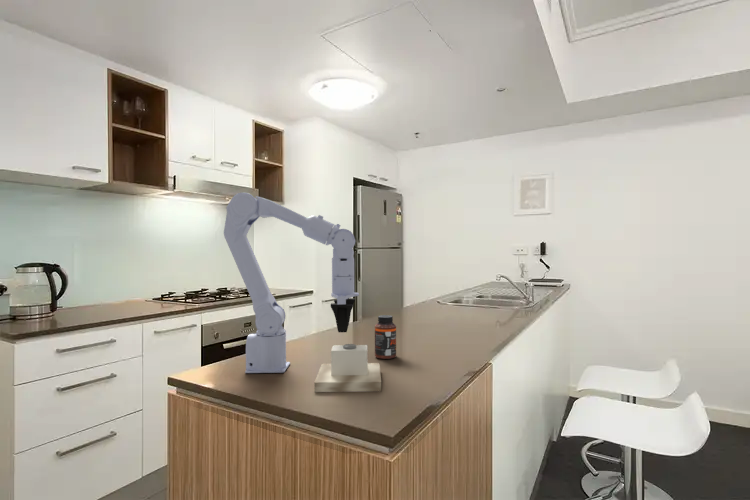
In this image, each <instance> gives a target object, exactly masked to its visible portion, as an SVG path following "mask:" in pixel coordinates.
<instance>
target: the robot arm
mask: <svg viewBox="0 0 750 500" xmlns="http://www.w3.org/2000/svg"><path fill="white" fill-rule="evenodd" d="M225 209H226V217H225V221H224V222H225V223H224V227H223V229H224V230H223V237H224V239H225V241H226V243H227V246H228V248H229V250H230V252H231V255H232V257H233V259H234V262H235V265H236V267H237V269H238V271H239V273H240V276H241V278H242V280H243V282H244V285H245V288H246V290H247V292H248V293H249V297H250V299H251V302H252V309H253V312H254V315H255V328H256V329H257V330H256V331H255V333H249V334H248V335H247V337H246V341H245V342H246V343H245V370H244V371H245V372H244V373H245V374H272V373H273V374H275V373H277V374H279V373H280V374H283V373H285V372H286V370H287V369H288V368H289V366H290V365H291V362H290V361H287V331H286V329H285V328H284V326H283V324H284V322H285V320H286V312H285V310H284V308H283V307H282V306H281V305H279V303H278V302H277V300H276V298H275V296H274V295H273V294H272V292H271V289H270V288H269V285H268V283H267V281H266V278H265V276H264V273H263V271H262V269H261V267H260V264H259V262H258V260H257V258H256V255H255V253H254V251H253V248H252V246H251V244H250V241H249V239H248V237H247V236H248V233H249V231H250V229H251V227H252V225H253V224H254V223H255V222H256V221H257V220H258V219H259V218H260V217H261V218H262V219H265V218H266V219H267V218H275V219H277V220H280V221H283V222H285V223H288V224H290V225H293V226H295V227H297V228H300V229H301V230H302V233H303V235H304V236H305V237H307V238H309V239H311V240H314V241H316V242H318V243H320V244H322V245H325V246H329V245H331V247H332V248H333V249H332V258H331V297H332V298H334V300H333V302H332V303H330V308H331V310H332V312H333V315H334V317H335V323H336V328H337V332H338V333H348V328H349V325H350V321H351V320H350V319H351V315H352V314H351V313H352V310H353V308H354V303H355V301H356V298H353V297H359V296H360V293H359V292H355V256H354V255H355V252H354V246H355V245H356V238H355V235H354V234H353V232H352V231H351V230H349V229H346V228H340V227H341V225H340V223H336V224H335V223H332V222H330V221H328V220H326V219H324V216H323V215H320V214H318V215H315V214H313V215H311V216H308V217H307V216H304V215H302V214H300V213H298V212H296V211H294V210H293V209H290V208H287V207H286V206H283V205H281V204H279V203H277V202H275V201H273V200H271V199H268V198H264V197H262V196H257V195H255V196H254V195H252V194H251V193H249V192H243V191H242V192H237V193H236V194H234V195H233V197H232V198H230V201H229V202H228V204H227V206H226V207H225Z"/></svg>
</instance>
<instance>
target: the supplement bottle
mask: <svg viewBox="0 0 750 500" xmlns="http://www.w3.org/2000/svg"><path fill="white" fill-rule="evenodd" d="M393 319H394V318H393V315H391V314H390V315H389V314H388V315H387V314H381V315H378V316H377V321H378V322H377V323H376V324H375V325H374V357H375V358H376V359H380V360H391V359H392V360H393V359H394V358H396V357H397V326H396V324H395V323H394V322H393V321H394V320H393Z"/></svg>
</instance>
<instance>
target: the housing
mask: <svg viewBox="0 0 750 500" xmlns="http://www.w3.org/2000/svg"><path fill="white" fill-rule="evenodd" d="M368 355H369V354H368V344H355V343H346V344H342V345H341V344H340V345H339V344H337V345H336V344H334V345H332V347H331V350H330V364H331V376H342V375H368V363H369V362H368V358H369V357H368Z"/></svg>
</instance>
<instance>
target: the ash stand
mask: <svg viewBox="0 0 750 500" xmlns="http://www.w3.org/2000/svg"><path fill="white" fill-rule="evenodd" d="M320 365H321V366H320V367H319V370H318V372H317V375H316V378H315V379H314V384H313V385H314V386H313V387H314V388H313V389H314V393H341V392H342V393H344V392H346V393H348V392H350V393H351V392H355V393H357V392H382V378H381V377H382V376H381V375H382V374H381V366H380V363H379V362H368V375H342V376H331V363H321V364H320Z"/></svg>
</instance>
